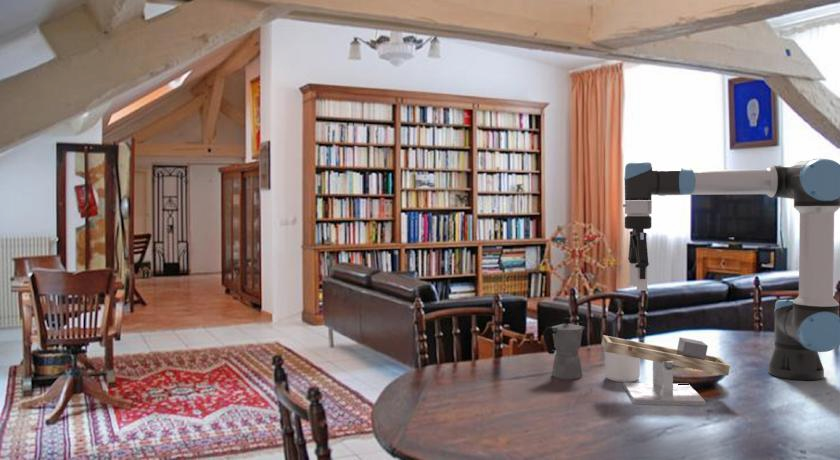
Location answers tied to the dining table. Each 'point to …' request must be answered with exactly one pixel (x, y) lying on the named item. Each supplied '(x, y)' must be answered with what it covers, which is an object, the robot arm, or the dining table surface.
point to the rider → (691, 348)
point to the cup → (621, 367)
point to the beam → (663, 355)
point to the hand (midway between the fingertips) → (637, 287)
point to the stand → (663, 389)
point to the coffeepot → (565, 349)
